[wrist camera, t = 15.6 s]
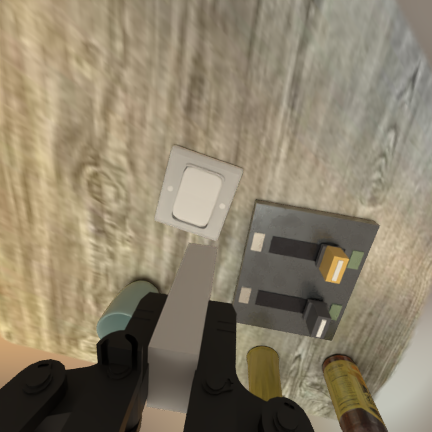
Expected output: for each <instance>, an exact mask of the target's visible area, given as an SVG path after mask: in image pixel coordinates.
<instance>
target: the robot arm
mask: <svg viewBox="0 0 432 432" xmlns="http://www.w3.org/2000/svg"><path fill="white" fill-rule="evenodd" d="M216 253H217V247H215V246H208V245H201V244H194V243H189V244H188V247H187V249H186V252H185V254H184V257H183V259H182V262H181V264H180V267H179V269H178V272H177V275H176V277H175V280H174V282H173V285H172V287H171V290H170V292H169V295H167V294H161V293H154V292H149V293H148V294H146V295H145V296H144V297H143V298H142V299H141V300H140V301H139V303H138V305H137V307H136V310H135V311H134V313H133V315H132V317H131V318H130V320H129V322H128V324H127V326H126V328H125V330H118V331H115V332H111V333H109V334H107V335H106V336H104V337H103V338H102V339H101V340H100V341H99V342H98V343H97V344H96V345H97V359H98V363H97V364H95V365H92V366H89V367H83V368H76V369H70V370H65V366H64V365H63V364H62V363H61V362H59V361H56V360H52V359H49V360H42V361H39V362H36V363H34V364H31V365H29V366H28V367H27V368H25V369H24V370H22V371H21V372H20V373H18V374H17V375H16V376H15V377H14V378H13V379H12V380H10V381H9V382H8V383H7V384H6V385H5V386H3V387H2V388H1V389H0V432H139V431H140V427H141V421H142V412H143V409H144V405H145V402H146V399H147V407H152V408H157V409H163V410H169V411H175V412H181V413H186V420H185V425H184V431H183V432H314V429H313V427H312V425H311V422H310V420H309V418H308V417H307V415H306V413H305V412H304V410H303V409H302V408H301V407H300V406H299V405H298V404H297V403H296V402H294V401H292V400H290V399H288V398H286V397H278V396H277V397H274V398H271V399H269V400H268V401H265V400H263V399H261V398H259V397H257V396H256V395H254V394H252V393H251V392H249V391H248V390H247V389H246V388H245V387H244V386H243V385H242V384H241V383H240V381H239V379H238V377H237V374H236V368H235V365H236V320H237V313H236V311H235V309H234V307H233V305H232V304H230V303H224V302H217V301H211V300H210V296H211V290H212V283H213V275H214V268H215V260H216Z"/></svg>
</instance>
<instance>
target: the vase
mask: <svg viewBox="0 0 432 432" xmlns="http://www.w3.org/2000/svg"><path fill="white" fill-rule="evenodd" d="M247 363H248V378H249V392H251V393H252V394H254V395H256V396H257V397H259V398H261V399H263V400H265V401H268V400H269V399H271V398H274V397H277V396H278V397H282V390H281V382H280V374H279V357H278V354H277V353H276V352H275V351H274V350H273V349H271V348H269V347H265V346H259V347H255V348H253V349H251V350H250V351H249V353H248V355H247Z"/></svg>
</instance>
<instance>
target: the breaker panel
mask: <svg viewBox="0 0 432 432" xmlns="http://www.w3.org/2000/svg"><path fill="white" fill-rule="evenodd" d="M379 226H380V225H378V224H377V223H376V222H374V221H373V220H367V219H362V218H356V217H351V216H345V215H340V214H334V213H328V212H323V211H317V210H312V209H306V208H301V207H295V206H290V205H284V204H278V203H273V202H267V201H262V200H255V205H254V209H253V214H252V218H251V223H250V227H249V231H248V236H247V240H246V245H245V249H244V254H243V258H242V263H241V267H240V271H239V276H238V280H237V285H236V289H235V294H234V298H233V303H232V305H233V307H234V309H235V311H236V313H237V320H236V322H237V323H242V324H247V325H252V326H258V327H263V328H268V329H273V330H278V331H284V332H289V333H294V334H299V335H304V336H310V334H309V330H308V327H307V324H306V321H305V320H303V319H302V315H303V312H304V309H305V306H306V304H307V301H308V299H310V300H315V301H320V302H326V303H327V305H328V307H327V309H328V312H329V314H330V316H331V318H332V319H331V322H330V324H329V327H328V329H327V332H326V334H325V337H324V339H325V340H330V341H332V339H333V337H334V334H335V332H336V330H337V327H338V325H339V322H340V320H341V318H342V315H343V313H344V310H345V308H346V306H347V303H348V301H349V298H350V296H351V294H352V291H353V289H354V286H355V284H356V282H357V279H358V277H359V274H360V272H361V270H362V267H363V265H364V262H365V260H366V258H367V255H368V253H369V250H370V248H371V246H372V243H373V241H374V238H375V236H376V234H377V231H378V229H379ZM321 244H326V245H332V246H337V247H342V248H343V250H344V251H343V252H344V253H345V254H346V255H347V257H348V258H349V261H348V264H347V266H346V269H345V271H344V274H343V276H342V279H341V281H340V284H338V283H333V282H327V281H325V280H324V278H323V276H322V274H321V272H320V270H319V268H318V267H316V266H315V262H316V259H317V256H318V253H319V250H320V247H321Z"/></svg>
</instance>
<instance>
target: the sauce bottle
mask: <svg viewBox="0 0 432 432" xmlns="http://www.w3.org/2000/svg"><path fill="white" fill-rule="evenodd" d="M323 373H324V377H325V381H326V384H327V387H328V390H329V393H330V396H331V400H332V403H333V406H334V409H335V412H336V415H337V418H338V421H339V424H340V427H341V429H342V431H343V432H388V430H387V428H386V426H385V424H384V422H383V420H382V418H381V416H380V414H379V411H378V409H377V407H376V405H375V403H374V401H373V399H372V396H371V394H370V392H369V390H368V388H367V386H366V384H365V382H364V380H363V378H362V375H361V373H360V371H359V369H358V367H357V366H356V365H355V363H354V362H353V361H352V360H351V359H350V358H349V357H347V356H342V355H335V356H331V357H329V358H328V359H326V360H325V362H324V364H323Z"/></svg>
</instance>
